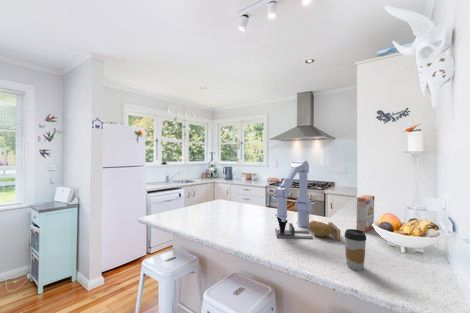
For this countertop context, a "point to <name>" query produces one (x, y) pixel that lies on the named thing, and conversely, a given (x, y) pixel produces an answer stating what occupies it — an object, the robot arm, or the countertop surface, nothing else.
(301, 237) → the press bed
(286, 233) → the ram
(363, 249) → the coffee cup
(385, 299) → the countertop surface
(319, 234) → the potato
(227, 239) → the countertop surface
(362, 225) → the cracker box
